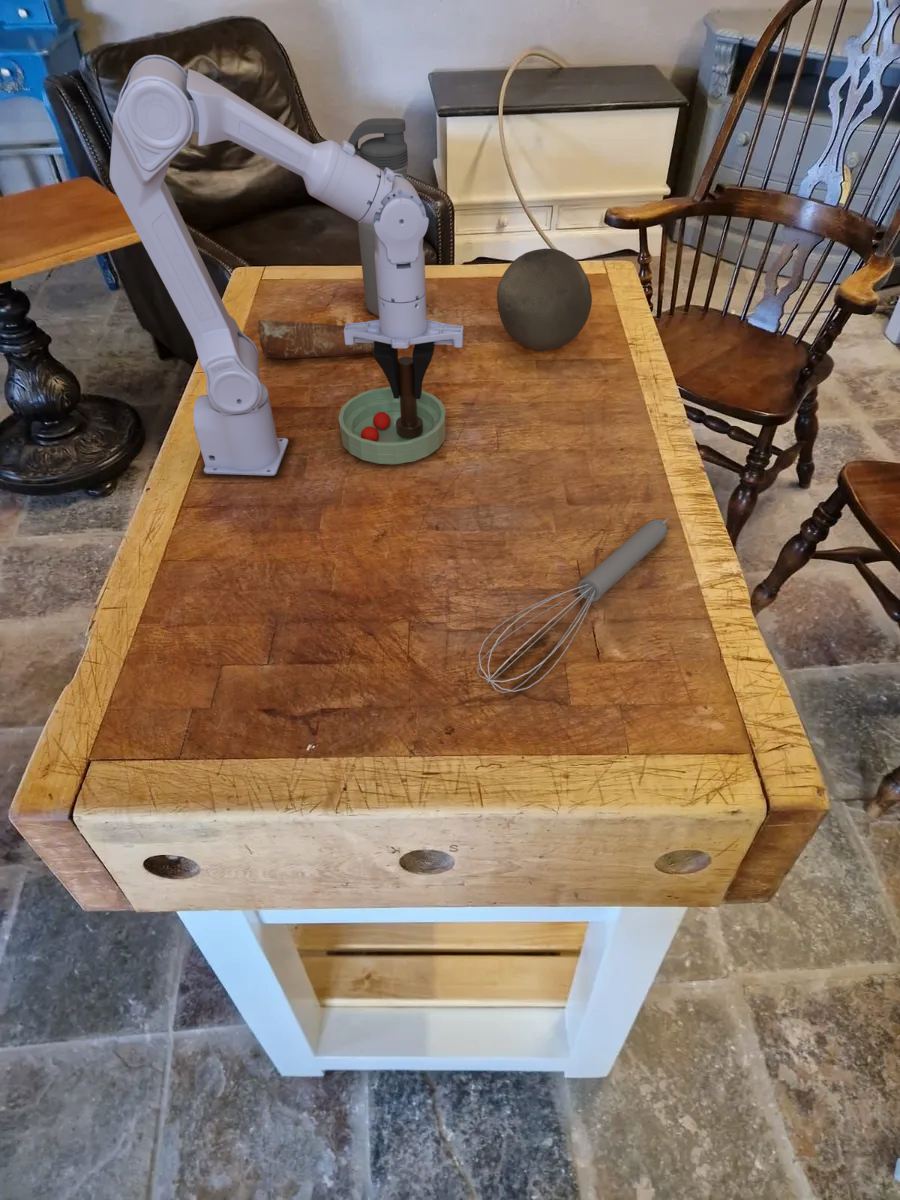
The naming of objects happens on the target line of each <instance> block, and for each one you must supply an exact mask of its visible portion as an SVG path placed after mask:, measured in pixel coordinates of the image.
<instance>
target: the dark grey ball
mask: <svg viewBox="0 0 900 1200" xmlns="http://www.w3.org/2000/svg"><path fill="white" fill-rule="evenodd" d="M501 276H502V277H501V278H500V280H499V282H498V286H497V290H496V303H497V309H498V310H497V311H498V315H499V318H500V322H501V324H502V326H503V328H504V330H505V332H506V334H507V335H508V336H509V337H510V338H511V339H512V341H514V343H516V344H517V345H519V346H521V348H524V349H527V350H528V349H529V350H531V351H533V352H538V353H543V352H548V351H554V350H557V349H560V348H562V347H564V346H566V345H568V344H569V343H571V342H573V340H574V339H576V338H577V337H578V335H579V334H580V333H581V331H582V330H583V328H584V327H585V325H586V323H587V321H588V319H589V316H590V313H591V310H592V305H593V295H592V291H591V283H590V281H589V278H588V276H587V274H586V272H585V270H584V269H583V266H582V265H581V263H580V262H579V261H578V260H577V259H575V257H573V256H571V255H569V254H567V253H566V252H565V251H563V250H560V249H556V248H546V247H545V248H538V249H533V250H530V251H527V252H525V253H522V254H521V255H519V256H518V257H516V258H515V259H514V260H513V261H512V263H510V265H509V266H508V267H507V268H506V269H505V271H504V272H503V274H502V275H501Z"/></svg>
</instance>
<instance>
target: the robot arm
mask: <svg viewBox="0 0 900 1200" xmlns="http://www.w3.org/2000/svg"><path fill="white" fill-rule="evenodd" d="M193 133H197V146H198V147H204V146H205V147H206V146H208V145H213V144H218V143H221V142H225V141H229V142H232V143H234V144H235V145H236V144H237V145H238V146H241V147H242V148H244V149H246V150H248V151H250V152H252V153H254V154H256V155H258V156H261V157H262V158H263V159H266V160H268V161H270V162H272V163H274V164H276V165H277V166H280V167H282V168H284V169H286V170H288V171H290V172H292V173H294V174H296V175H298V176H300V177H301V178H302V179H303V182H304V186H305V190H306V191H307V194H308V195H309V196H310V197H312V198H314V199H316V200H318V201H320V202H321V203H323V204H325V205H326V206H328V207H331V208H333V209H334V210H336V211H338V212H340V213H341V214H343V215H345V216H347V217H349V218H350V219H353V220H354V221H356V222H357V223H358V222H360V223H362V224H368V225H372V226H374V234H375V247H376V250H375V269H376V281H377V295H378V307H379V316H378V319H375V320H368V321H361V322H360V321H359V322H346V323H345V325H344V326H345V328H344V338H345V344H346V345H353V344H354V343H355V342H361V343H374V352H373V353H372V354H373V358H374V360H375V362H376V363H377V364H378V365H379V367H380V369H381V370H382V372H383V373H384V375H385V377H386V380H387V382H388V384H389V387H391V390H392V393H393V398H399V381H398V365H397V360H398V359H399V349H401V350H402V349H404V350H405V349H409V347H410V346H412V345H414V347H413V350H412V354H411V357H412V359H413V366H414V376H415V386H414V396H415V399H420V398H421V393H422V390H423V382H424V379H425V375H426V372H427V370H428V368H429V366H430V364H431V362H432V360H433V356H434V353H435V347H436V345H447V346H449V345H451V346H453V347H454V348H463V345H464V325H458V324H450V323H444V322H440V321H435V320H429V319H427V318H428V317H427V316H428V314H427V290H426V289H427V286H426V263H425V262H426V260H425V251H424V237H425V235H426V233H427V232H428V228H429V224H430V223H429V222H430V219H429V217H427V210H426V208H425V205H424V204H423V202H422V200H421V198H420V196H419V194H418V192H417V190H416V188H415V187H414V186H413V184H412V183H411V182H410V181H409V180H408V179H407V180H406V179H405V178H404V177H403V176H402V175H401V174H398V173H394V172H393V171H392V170H390V169H389V168H387V167H386V168H385V169H384V171H383V170H381V169H379V168H378V167H376V166H374V165H373V164H371V163H369V162H368V161H366V160H364V159H363V158H361V157H359V156H358V155H356V154H354V153H355V148H354V146H353V145H352V144H350V143H349V142H348V140H345V139H344V140H342V142H341V144H339V143H338V142H337V141H334V140H332V139H329V140H324V141H322V142H321V141H320V142H317V143H312V142H310V141H309V140H308V139H305V138H304V137H302V136H301V135H299V134H298V133H296V132H295V131H293V130H291V129H290V128H289V127H287V126H285V125H284V124H282V123H281V122H279V121H277V120H276V119H274V118H273V117H271V116H270V115H268V114H267V113H265V112H263V111H262V110H260V109H258V108H257V107H256V106H254V105H253V104H251V103H249V102H248V101H246V100H245V99H243V98H241V97H240V96H238V95H237V94H235V93H234V92H232V91H231V90H229V89H228V88H226V87H224V86H222V85H220V84H219V83H218V82H216V81H215V80H212V79H211V78H210V77H207V76H206V75H204V74H203V73H201V72H199V71H196V70H194V69H191V68H187V71H186V70H185V69H184V68H183V67H182V66H181V65H180V64H179V63H178V62H177V61H175V60H173V59H172V58H170V57H167V56H164V55H161V54H149V55H144V56H142V57H141V58H139V59H138V60H136V62H135V63H133V65H132V67H131V69H130V71H129V73H128V75H127V77H126V79H125V81H124V84H123V86H122V88H121V90H120V93H119V96H118V102H117V106H116V109H115V111H114V113H113V116H112V135H111V149H110V160H109V161H110V162H109V180H110V183H111V187H113V190H114V192H115V194H116V196H117V198H118V199H119V201H120V204H121V205H122V207H123V209H124V211H125V212H126V215H127V216H128V218H129V220H130V222H131V224H132V226H133V228H134V231H136V234H137V236H138V237H139V239H140V241H141V243H142V245H143V247H144V248H145V251H146V252H147V254H148V257H149V258H150V260H151V262H152V264H153V266H154V268H155V270H156V272H157V273H158V275H159V277H160V280H161V281H162V283H163V284H164V287H165V289H166V290H167V292H168V294H169V296H170V298H171V300H172V302H173V303H174V306H175V308H176V309H177V311H178V313H179V315H180V317H181V319H182V321H183V322H184V324H185V326H186V328H187V330H188V332H189V334H190V336H191V338H192V340H193V344H194V347H195V351H196V354H197V358H198V361H199V364H200V367H201V369H202V371H203V373H204V375H205V378H206V394H202V395H199V396H198V397H197V398H196V400H195V403H194V407H193V417H192V418H193V427H194V431H195V435H196V439H197V442H198V445H199V449H200V452H201V456H202V459H203V463H204V468H203V472H204V474H207V475H209V474H210V475H241V476H267V477H274V476H277V473H278V471H279V468H280V465H281V463H282V460H283V458H284V455H285V453H286V450H287V447H288V444H289V439H288V438H286V437H278V434H277V429H276V425H275V420H274V414H273V409H272V405H271V399H270V394H269V389H268V388H267V386H266V385H265V384H264V383H263V382H262V381H261V380H260V370H259V368H260V367H259V360H260V355H259V350H258V347H257V346H256V344H255V342H254V341H253V340H252V339H251V338H250V337H249V336H247V335H246V334H245V333H244V332H242V330H241V329H240V327H239V325H238V323H237V321H236V319H235V318H234V317H233V316H231V315H230V314H229V312H228V310H227V308H226V305H225V304H224V302H223V300H222V298H221V296H220V293H219V292H218V290H217V287H216V285H215V283H214V281H213V279H212V277H211V275H210V273H209V271H208V268H207V266H206V265H205V262H204V260H203V258H202V256H201V254H200V251H199V250H198V248H197V245H196V243H195V242H194V238H193V237H192V235H191V233H190V231H189V229H188V227H187V224H186V223H185V220H184V219H183V216H182V215H181V212H180V210H179V208H178V206H177V204H176V201H175V200H174V198H173V195H172V193H171V191H170V189H169V187H168V185H167V183H166V181H165V178H166V176H167V173H168V171H169V167H170V166H171V161H173V159H174V158H175V157H176V156H177V155H178V154H179V153H180V152H181V151H182V150H183V149H184V148H185V146H187V144H188V143H189V142H190V140H191V138H192V136H193Z"/></svg>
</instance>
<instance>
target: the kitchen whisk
mask: <svg viewBox="0 0 900 1200" xmlns="http://www.w3.org/2000/svg"><path fill="white" fill-rule="evenodd" d="M670 519H671V518H670V516H668V517H667V518H665V519H664V520H662V519H659V518H654V519H652V520H650V521H647V522H646V523H645V524H644V525H642V526H641V527H640V528H639V529H638V530H637V531H636V532H634V534H632V535H631V536H630V537H629V538H628V539H627V540H625V541H624V542H623V543H622V544H621V545H619V546H618V547H617V548H616V549H615V550H614V551H613V552H612V553H610V554H609V556H607V557H606V558H605V559H604V560H602V561H601V562H600V563H599V564H598V565H597V566H596V567H594V568H592V570H591V571H590V572H589V573H588V574H587V575H585V576H584V577H582V579H581V580H580V581H579V582H578V584H577V586H576V587H574V588H571V589H568V590H565V591H563V592H559V593H557V594H554V595H552V596H550V597H547V598H545V599H542V600H540V601H538V602H536V603H533V604H532V605H530V606H528V607H526V608H524V609H522V610H520V611H519V612H517V613H515V614H514V615H511V616H510V617H509V618H507V619H506V620H504V621H502V623H500V624H499V625H498V626H496V627H495V629H493V630H492V631H491V632H490V634H488V636H487V637H486V638H485V640H484V641H483V642H482V645H481V647H480V649H479V652H478V662H479V663H478V665H477V668H476V670H477V675H478V677H480V678H482V679H484V680H486V684H487V685H489V684H491V686H492V687H493V689H494V691H497V692H499V693H501V694H506V693H510V692H514V693H515V692H520V691H525V690H527V689H530V688H531V687H532V686H535V685H536V684H538V683H539V682H540V681H542V680H543V679H544V677H546V675H548V674H549V673H550V672H551V671H552V670H553V669H554V667H555V666H556V665H557V664H558V662H559V661H560V660H561V658H562V657H563V656H564V654H565V652H566V651H567V650H568V648H569V647H570V645H571V643H572V641H573V640H574V639H575V637H576V634H577V633H578V631H579V629H580V627H581V626H582V623H583V621H584V619H585V617H586V615H587V613H588V611H589V608H590V606H591V604H592V602H597V601H598V600H599V599H600V598H602V597H603V595H605V594H606V593H607V591H609V590H610V589H611V588H612V587H613V586H614V585H615V584H617V582H619V581H621V579H622V578H623V577H624V576H625V575H626V574H627V573H629V571H631V570H632V569H633V568H635V566H636V565H638V563H640V561H642V560H643V559H644V558H645V557H646V556H647V555H648V554H649V553H650V552H651V551H652V550H653V549H654V548H656V546H658V545H659V544H660V543H661V542H662V541H663V540H664V539H665V537H666V535H667V534H668V526H667V524H666V523H667V522H668V521H669V520H670ZM575 590H578V591H577V592H574V593H573V594H572V595H569V596H568V597H566V598H564V599H562V600H561V601H559V602H557V603H555V604H554V605H552V606H550V607H549V608H547V609H545V610H543V611H541V613H539V614H537V615H535V616H533V617H532V618H531V619H529V620H528V621H526V622H525V623H523V624H522V625H520V626H519V627H517V628H515V629H514V630H513V631H511V632H510V633H508V635H506V636H504V637H503V638H502V636H503V635H504V634H505V633H506V632H507V630H508V629H509V628H511V627H512V626H513V625H515V623H517V622H518V621H519V620H520V619H522V618H523V617H524V616H526V615H527V614H529V613H531V612H532V611H533V610H535V609H537V608H539V607H540V606H542V605H544V604H545V603H547V602H549V601H552V600H554V599H556V598H558V597H560V596H563V595H565V594H568V593H570V592H573V591H575ZM577 594H580V595H579V596H578V597H577V598H575V599H573V601H571V602H570V603H569V604H568V605H567V606H565V608H563V609H562V610H560V611H559V612H558V613H557V614H556V615H555V616H553V617H552V618H551V619H550V620H549V621H548V622H547V623H546V624H544V625H543V626H542V627H541V628H540V629H538V630H537V631H536V632H535V633H534V634H533V635H531V636H530V638H528V639H527V640H526V641H525V642H524V643H523V644H521V646H520V647H519V648H518V649H517V650H515V651H514V653H512V655H510V657H508V658H507V659H506V660H505V661H504V662H503V663H502V664H501V665H500V666H499V667H498V668H497V669H496V671H495V672H494V673H493V674H492V675H491V672H490V671H491V670H490V662H491V658H492V653H493V651H494V649H495V648H496V647H497V646H498V645H499V644H500V643H502V642H503V641H505V639H507V638H509V637H510V636H511V635H512V634H514V633H515V632H516V631H518V630H520V629H521V628H523V627H524V626H526V625H527V624H528V623H530V622H532V621H533V620H535V619H537V618H538V617H539V616H541V615H543V614H545V613H546V612H547V611H550V610H551V609H553V608H555V607H556V606H558V605H559V604H562V603H563V602H565V601H566V600H569V599H570V598H572V597H573V596H576V595H577ZM583 598H584V599H585V602H584V604H583V605H582V607H581V609H580V610H579V612H578V613H577V615H576V616H575V618H574V620H573V621H572V623H571V624H570V625H569V627H568V628H567V630H566V631H565V633H564V634H563V635H562V637H561V638H560V639H559V641H558V642H557V644H556V645H555V646H554V648H553V649H552V650H551V651H550V653H549V654H548V655H547V656H546V657H545V658H544V659H543V660H542V661H541V662H540V663H539V664H537V665H536V666H534V667H533V668H531V669H530V670H528V671H527V672H525V673H522V674H520V675H518V676H516V677H513V678H509V679H505V680H498V679H497V678H498V677H500V675H502V674H503V673H504V672H505V671H507V669H508V668H510V667H511V665H513V664H514V663H515V662H516V661H517V660H518V659H519V658H520V657H521V656H523V654H525V653H526V652H527V651H528V650H529V649H530V648H531V647H533V646H534V645H535V644H536V643H537V641H539V640H540V639H541V638H542V637H543V636H544V635H546V633H547V632H548V631H550V629H551V628H552V627H554V626H555V625H556V624H557V623H558V622H559V621H560V620H561V619H562V618H563V617H564V616H565V615H566V614H567V613H568V612H569V611H570V610H571V609H573V608H574V607H575V606H576V605H578V603H579V602H580V601H581V600H582V599H583ZM570 606H571V607H570ZM569 607H570V608H569ZM527 610H528V611H527ZM525 611H526V612H525ZM564 611H565V612H564ZM563 612H564V613H563ZM521 613H523V614H522V615H521V616H518V617H517V618H516V619H515V620H514V621H513V622H511V624H510V625H508V626H507V627H506V629H504V630H503V632H501V634H500V635H499V636H498V638H497V639H496V641H495V642H494V644H493V646H492V647H491V648H490V649H489V650H488V651H487V652H486V653H485V655H483V657H481V653H482V650H483V647H484V645H485V644H486V642H487V641H488V640H489V638H490V637H491V636H492V634H493V633H494V632H495V631H497V630H498V629H499V628H500V627H502V626H503V625H504V624H505V623H506V622H508V621H510V620H512V619H513V618H515V617H516V616H517V615H519V614H521ZM562 613H563V614H562ZM561 614H562V615H561ZM559 615H561V616H559ZM558 616H559V618H557V617H558ZM582 616H583V617H582ZM556 618H557V620H556V621H555V622H553V624H551V625H550V626H549V627H548V628H547V629H546V630H545V631H543V633H542V634H541V635H539V637H537V638H536V640H534V641H533V642H532V643H531V644H530V645H528V647H527V648H526V649H524V650H523V651H522V653H520V654H519V655H518V656H517V657H515V659H513V660H512V662H511V663H509V664H508V665H507V666H506V667H505V668H504V669H503V670H501V669H502V668H503V667H504V665H506V664H507V663H508V662H509V661H510V660H511V658H513V657H514V656H515V655H516V654H517V653H518V652H519V651H520V650H521V649H522V648H524V646H525V645H527V644H528V643H529V642H530V641H531V640H532V639H533V638H534V637H536V636H537V635H538V634H539V633H540V632H541V631H542V630H543V629H545V628H546V627H547V626H548V625H549V624H550V623H551V622H552V621H553V620H555V619H556ZM581 618H582V619H581ZM580 619H581V621H580ZM579 621H580V622H579ZM578 623H579V624H578ZM577 624H578V626H577ZM576 626H577V628H576V630H575V632H574V633H573V635H572V637H571V639H570V641H569V642H568V644H567V645H566V646H565V649H564V650H563V651H562V653H561V655H560V656H559V657H558V659H557V660H556V661H555V662H554V664H553V665H552V666H551V667H550V669H548V670H547V671H546V672H545V673H544V674H543V675H542V676H541V677H540V678H539V679H537V680H536V681H534V682H533V683H531V684H530V685H528V686H525V687H522V685H524V684H525V683H526V682H527V681H528V680H529V679H530V678H531V677H533V676H534V675H535V674H536V672H537V671H539V669H540V668H541V667H542V666H543V665H544V663H546V661H547V660H548V659H549V658H550V657H551V656H552V655H553V654H554V653H555V652H556V651H557V649H558V648H560V647H561V645H562V644H563V643H564V642H565V641H566V639H567V638H568V637H569V635H570V634H571V632H572V631H573V630H574V628H575V627H576ZM500 639H501V640H500ZM488 655H489V656H488ZM487 656H488V661H487V672H488V675H487V673H486V672H485V670H484V669H483V667H482V661H484V659H485V658H486V657H487ZM479 668H480V670H481V671H482V673H483V674H484V676H483V675H481V673H480V670H479ZM500 670H501V671H500ZM499 671H500V672H499ZM498 672H499V673H498ZM532 672H533V673H532ZM497 673H498V674H497ZM530 673H531V674H530ZM496 674H497V675H496ZM528 674H530V675H529V676H528V677H527V678H526V679H525V680H524V681H523V682H521V683H519V685H517V686H515V687H514V688H512V689H509V688H504V687H501V686H500V685H499V684H497V683H505V682H509V681H515V680H517V679H520V678H521V677H524V676H527V675H528ZM494 676H495V677H494ZM496 687H497V688H496ZM520 687H522V688H520ZM498 688H499V689H500V690H499V689H498Z"/></svg>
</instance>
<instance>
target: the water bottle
mask: <svg viewBox="0 0 900 1200" xmlns="http://www.w3.org/2000/svg"><path fill="white" fill-rule="evenodd" d="M406 128H407V127H406V120H405V119H403V118H398V117H396V118H395V117H391V118H390V117H389V118H387V117H386V118H381V117H379V118H378V117H377V118H376V117H375V118H368V119H366V120H363V121H362V122H359V124H358V125H356V127H355V128H354V130H353V131H352V133H351V135H350V137H349V138H348V140H347V142H349V143H350V144H352V145H353V146H354V148H355V153H354V154H356V155H358V156H359V157H361V158H363V159H364V160H366V161H368V162H369V163H371V164H373V165H374V166H376V167H378V168H379V169H381V170H383V171H384V169H385V168H386V167H387V168H389V169H390V170H392V171H393V172H394V173H398V174H401V175H402V176H403V177H404V178H405V179H406V180H407V181H408V171H407V170H408V169H407V168H408V167H409V163H408V162H409V158H408V157H409V156H408V155H409V154H408V144H407V143H406V141H405V133H404V132H406ZM374 134H383V136H376V137H372V138H368V139H366V140H365V141H364V142H362V143H361V144H360V146H359V141H360V139H361V138H363V137H365V136H368V135H374ZM357 227H358V228H357V229H358V238H359V240H358V241H359V249H360V258H361V261H360V262H361V271H362V272H361V273H362V281H363V282H362V283H363V291H364V302H365V306H366V308H367V310H368V311H369V312H370V313H371V314H372V315H374V316H377V317H379V307H378V295H377V281H376V269H375V250H376V247H375V234H374V226H372V225H368V224H362V223H360V222H358V221H357Z"/></svg>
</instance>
